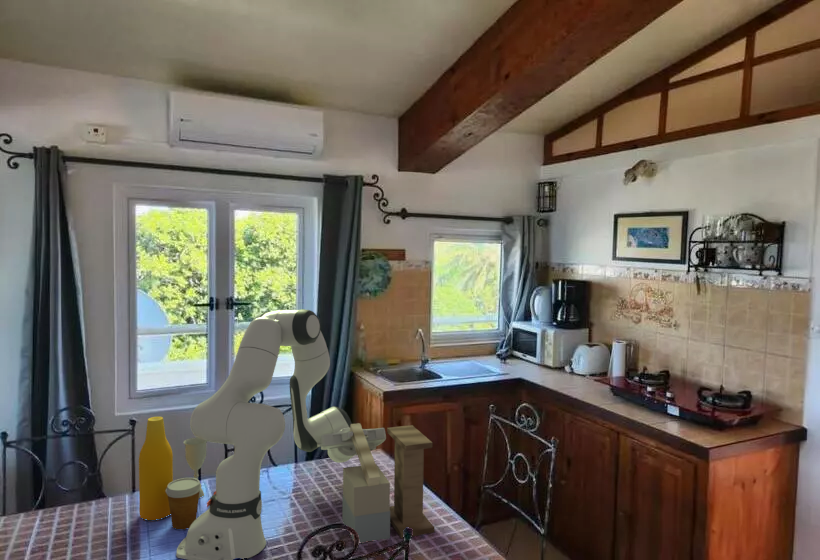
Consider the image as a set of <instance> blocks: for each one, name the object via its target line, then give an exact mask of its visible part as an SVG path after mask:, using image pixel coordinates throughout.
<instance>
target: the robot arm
mask: <svg viewBox="0 0 820 560" xmlns="http://www.w3.org/2000/svg"><path fill="white" fill-rule="evenodd" d="M281 347H290V348H291V352H292V357H293V359H294V371H293V374H292V376H291V377H290V378H289V398H290V405H291V412H292V414H291V415H292V422H293V423H292V425H293V428H292V431H293V432H292V433H293V440H294V443H295V445H296V446H297V448H298V449H299V450H300V451H304V452H307V453H312V452H314V450H316V449H318V448H320V450H323V451H327V455H328V457H329V458H330V460H332V461H333V462H335V463H338V464H339V463H341V464H342V463H345V462H348V461H349V460H351V459H352V458H353V457H355V456H358V455H357V452H356V449H355V446H354V444H353V441H352V438H353V437H354V435H353V431H350V424H353V423H352V421H351V418H350V416H349V414H348V413H347V411H345V410H344V409H342V408H340V407H339V406H333V405H332V406H331V407H329V408H327V409H324V410H323V411H321V412H320V413H317V414H315V415H313V416H311V417H309V418H308V410H307V396H308V395H309V393H310V391H312V389H313V388H314V387H315V385H316V384H318V383H319V382H320V381H321V380H322V379H323V378H324V377H325V376H326V375H327V373H328V371H329V369H330V366H331V358H330V352H329V349H328V347H327V342H326V340H325V338H324V335H323V333H322V331H321V321H320V318H319V316H318V315H317V314H316V313H315V312H314V311H313V310H310V309H305V308H304V309H301V308H300V309H284V308H283V309H277V310H271V311H264V312H262V313H259V314H257V315H256V316H255V317H254V319H253V320H252V321H250V323H249V324H248V326H247V328H246V330H245V332H244V334H243V336H242V339H241V341H240V344H239V346H238V349H237V353H236V355H235V358H234V362H233V365H232V367H231V370H230V372H229V375H228V376H227V378H226V380H225V381H224V383H223V384H222V385H221V387H219V388H218V390H217V391H216V392H215V393H214V394H212V395H211V396H210V397H209V398H207V399H205V400H204V401H202V402H200V403H198V405H196V407H195V408H194V409H193V411H192V412H191V416H190V419H189V420H190V425H189V426H190V430H191V432H192V434H193V435H194V437H195V438H196V437H198V438H200V439H203V440H206V441H207V442H209V443H214V444H215V443H216V444H225V445H233V448H234V452H233V454H232V455H230V456H228V457H227V458H225V459H223V460H222V461H221V462H220V463H219V465H218V466H217V468H216V472H215V491H214V492H213V495H212V496H210V498H209V500H208V501H207V502H206V508H207V510H206V511H204V512H202V514H200V515H199V516H198V517H196V520H195V521H194V522H193V523H192V524H191V526H190V527H189V528H188V529H187V531H186V532H187V533H186V536H185V538H183V539H182V540H181V542H180V543H179V544H178V546H177V547H176V552H175V556H176V558H178V559H183V560H233V559H235V558H242V559H243V560H245V559H244V558H247V559H249V558H252V557H254V556H256V555H257V554H259V553H261V551H263V550H264V548H265V547H266V544H267V540H266V536H265V534H264V530H263V524H262V517H261V515H262V511H263V510H262V508H263V507H262V506H263V504H262V503H263V502H262V491H261V490H260V483H261V482H260V480H261V479H260V478H261V466H262V464H263V463H262V462H263V460H264V457H265V455H266V454H267V452H269V450H270V449H271V448H272V447H274V446H275V445H276V444H278V442H280V440H281V439H282V437H283V435H284V433H285V429H286V418H285V416H284V413H283V412H282V411H281V409H280V408H278V407H274V406H272V405H267V404H265V403H256V402H249V401H250V400H251V399H252V398H253V397H254V396H256V395H257V394H259V393H262V392H264V391H265V390H266V389H267V388H269V386H270V384H272V380H273V376H274V372H275V370H276V365H277V362H278V359H279V358H278V357H279V353H280V349H281ZM362 430H363V432H364V435H365V438H366V440H367V443H368V445H369V448H370V451H374V450H376V449H377V447H378V446H379V445H381V444H382V443H384V442H385V441H386V439H387V435H386V433H387V432H386V429H385V427H378V428H362Z"/></svg>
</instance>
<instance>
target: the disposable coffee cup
mask: <svg viewBox="0 0 820 560" xmlns="http://www.w3.org/2000/svg"><path fill="white" fill-rule="evenodd" d="M200 489H202V484H201V482H200V480H199V478H198V479H196V478H194V477H183V478H181V477H180V478H177V479H173V481H172V482H170V483H169V484H168V486H167V489H166V493H167V495H168V501H169V508H170V514H171V515H170V520H171V527H172V526H173V527H172V529H174V528H176V529H184V530H187V529H186V528H188V529H189V527H190V526H191V524H192V523H193V522H194V521H195V520H196V519H197V518H198V517H197V516H198V507H199V501H200V500H199V492H200ZM176 529H175V530H176Z"/></svg>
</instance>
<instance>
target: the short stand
mask: <svg viewBox="0 0 820 560" xmlns="http://www.w3.org/2000/svg"><path fill="white" fill-rule="evenodd" d="M386 430H387V432H386V433H387V434H388V435H389V437H391V438H392V439H393V440H394V468H393V469H394V473H393V474H394V476H393V477H394V481H393V482H394V485H393V487H394V489H393V505H392V506H391V505H390V525H391V526H392V527H393V529H394V530H395V532H396V533H397V534H398V536H399V537H400V539H404V538H403V530H404V529H405V528H406V527H409V528H412V529H413V535H412V537H416V536H417V537H418V536H422V535H423V536H424V535H427V534H434V533H435V526H434V525H433V524H432V522H431V521H430V520H429V518H427V516H426V515H425V514H424V457H425V456H424V455H425V454H424V453H425V451H424V450H425V449H432V448H433V444H434V443H433V442H432V440H430V438H428V437H427V436H426V435H424V434H423V433H422V432H421V431H420V430H419V429H417V428H416V426H414V425H413V424H411V425H402V426H393V427H387V429H386Z"/></svg>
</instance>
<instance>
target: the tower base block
mask: <svg viewBox="0 0 820 560" xmlns="http://www.w3.org/2000/svg"><path fill="white" fill-rule="evenodd" d="M341 508H342V512H341V513H342V520H341V521H342V523H343V525H344V526H345V525H347V526H349V527H351V528H353V529H354V530H355V531H356V532H357V533H358V535H359V539H360V542H361V543H362V542H366V541H372V540H378V541H381V540H380V539H384V540H390V539H391V523H390V511H388V512H381V513H374V514H368V515H361V516H355V517H354V515H353V513H352V511H351V509H350V508H349V506H348V504H347V502H346V500H345V498H344V496H343V495H342V507H341ZM351 536H352V538H351V540H352V541H353V539H354V536H353V534H352V535H351ZM351 536H350V537H351ZM362 544H363V543H362Z"/></svg>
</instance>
